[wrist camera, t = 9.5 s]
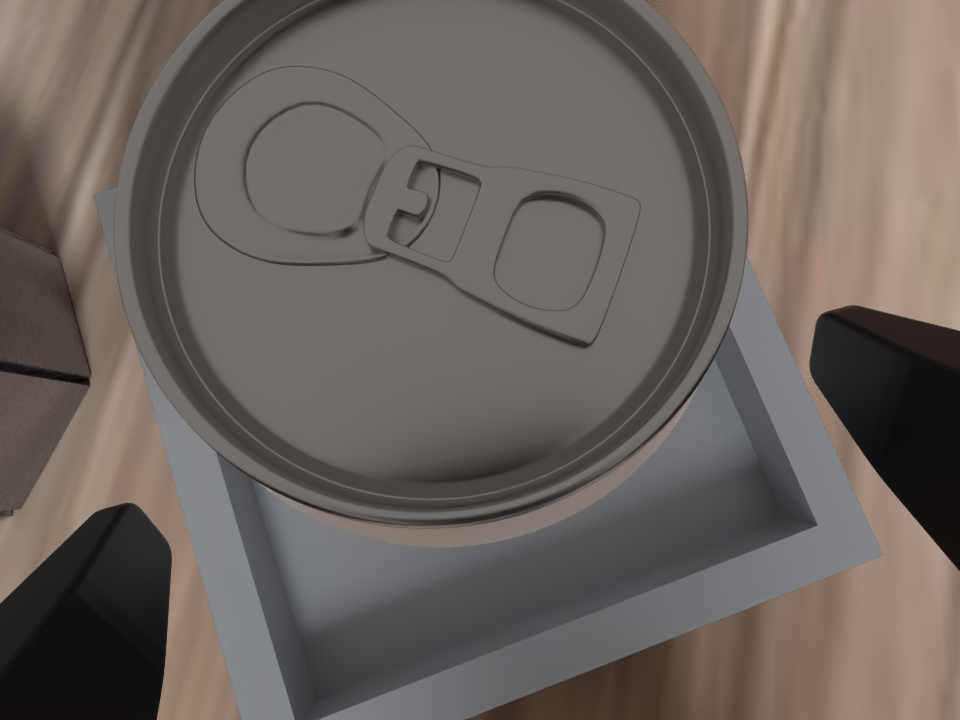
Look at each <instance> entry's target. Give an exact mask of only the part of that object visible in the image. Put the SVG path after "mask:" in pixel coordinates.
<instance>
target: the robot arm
mask: <svg viewBox="0 0 960 720" xmlns="http://www.w3.org/2000/svg"><path fill="white" fill-rule="evenodd" d="M810 372H811V375H812V378H813V380H814V382H815V383H816V385H817V386H818V388H819V389H820V391H821V392H822V394H823V395H824V396H825V398H826V399H827V401H828V402H829V404H830V405H831V407H832V408H833V410H834V411H835V413H836V414H837V416H838V417H839V419H840V420H841V421H842V423H843V424H844V426H845V427H846V429H847V430H848V432H849V433H850V435H851V436H852V438H853V439H854V441H855V442H856V444H857V445H858V446H859V448H860V449H861V451H862V452H863V454H864V455H865V457H866V458H867V460H868V461H869V462H870V464H871V465H872V466H873V468H874V469H875V471H876V472H877V473H878V475H879V476H880V477H881V478H882V480H883V481H884V482H885V483H886V485H887V486H888V487H889V488H890V490H891V491H892V492H893V493H894V494H895V495H896V497H897V498H898V499H899V500H900V501H901V503H902V504H903V505H904V506H905V507H906V508H907V510H908V511H909V512H910V513H911V514H912V515H913V517H914V518H915V519H916V520H917V521H918V523H919V524H920V525H921V526H922V527H923V528H924V530H925V531H926V532H927V533H928V534H929V536H930V537H931V538H932V539H933V540H934V541H935V543H936V544H937V545H938V546H939V547H940V549H941V550H942V551H943V552H944V553H945V554H946V556H947V557H948V558H949V559H950V560H951V562H952V563H953V564H954V565H955V566H956V567H957V569H958V570H959V571H960V331H958V330H954V329H950V328H946V327H942V326H938V325H934V324H930V323H926V322H922V321H917V320H913V319H909V318H905V317H901V316H897V315H893V314H889V313H885V312H881V311H877V310H873V309H869V308H865V307H861V306H856V305H851V306H846V307H842V308H838V309H835V310H831V311H827V312H825V313H823V314H821V315H820V317H819V318H818V320H817V322H816V326H815V332H814V338H813V344H812V350H811V356H810ZM171 564H172V556H171V550H170V546H169V544H168V542H167V540H166V539H165V538H164V536H163V535H162V534H161V533H160V531H159V530H158V529H157V528H156V527H155V525H154V524H153V523H152V522H151V521H150V519H149V518H148V517H147V516H146V514H145V513H144V512H143V511H142V510H141V509H140V508H139V507H138V506H137V505H135V504H133V503H124V504H120V505H116V506H113V507H109V508H105V509H102V510H99V511H97V512H95V513H94V514H93V515H92V516H91V517H89V518H88V519H87V520H86V521H85V522H84V523H83V524H82V525H81V526H80V527H79V528H78V529H77V530H76V531H75V532H74V533H73V534H72V535H71V536H70V537H69V538H68V539H67V540H66V541H65V542H64V543H63V544H62V545H61V546H60V547H58V548H57V549H56V550H55V551H54V552H53V553H52V554H51V555H50V556H49V557H48V558H47V559H46V560H45V561H44V562H43V563H42V564H41V565H40V566H39V567H38V568H37V569H36V570H35V571H34V572H33V573H32V574H31V575H30V576H28V577H27V578H26V579H25V580H24V581H23V582H22V583H21V584H20V585H19V586H18V587H17V588H16V589H15V590H14V591H13V592H12V593H11V594H10V595H9V596H8V597H7V598H6V599H5V600H4V601H3V602H2V603H1V604H0V720H157V714H158V709H159V703H160V697H161V690H162V684H163V677H164V668H165V657H166V643H167V627H168V611H169V596H170V580H171Z"/></svg>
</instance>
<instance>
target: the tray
mask: <svg viewBox="0 0 960 720" xmlns="http://www.w3.org/2000/svg"><path fill="white" fill-rule="evenodd" d="M116 189H117V186H116V187H113V188H110V189H108V190H105V191H102V192H99V193H96V194H93V195H94V198H95V202H96V205H97V209H98V212H99V216H100V219H101V223H102V227H103V230H104V234H105V237H106V241H107V244H108V248H109V251H110V255H111V258H112V262H113V266H114V269H115V273H116V265H115V256H114V237H113V224H114V206H115V196H116ZM116 276H117V273H116ZM117 280H118V279H117ZM134 340H135V339H134ZM135 344H136V341H135ZM136 347H137V351H138V354H139V358H140V361H141V365H142V368H143V372H144V376H145V379H146V383H147V386H148V390H149V393H150V397H151V400H152V404H153V407H154V411H155V415H156V418H157V422H158V425H159V429H160V432H161V436H162V439H163V443H164V446H165V450H166V454H167V457H168V461H169V464H170V468H171V471H172V475H173V478H174V482H175V485H176V489H177V493H178V496H179V500H180V503H181V507H182V510H183V514H184V517H185V521H186V524H187V528H188V532H189V535H190V539H191V542H192V546H193V549H194V553H195V556H196V560H197V563H198V567H199V571H200V574H201V578H202V581H203V585H204V588H205V592H206V595H207V599H208V602H209V606H210V610H211V613H212V617H213V620H214V624H215V627H216V631H217V634H218V638H219V641H220V645H221V649H222V652H223V656H224V659H225V663H226V666H227V670H228V673H229V677H230V680H231V684H232V688H233V691H234V695H235V698H236V702H237V705H238V709H239V712H240V716H241V720H466V719H468V718H471V717H473V716H476V715H478V714H481V713H483V712H486V711H488V710H491V709H494V708H496V707H499V706H501V705H504V704H506V703H509V702H511V701H514V700H516V699H519V698H522V697H524V696H527V695H529V694H532V693H534V692H537V691H539V690H542V689H544V688H547V687H550V686H552V685H555V684H557V683H560V682H562V681H565V680H567V679H570V678H572V677H575V676H577V675H580V674H583V673H585V672H588V671H590V670H593V669H595V668H598V667H600V666H603V665H605V664H608V663H611V662H613V661H616V660H618V659H621V658H623V657H626V656H628V655H631V654H633V653H636V652H639V651H641V650H644V649H646V648H649V647H651V646H654V645H656V644H659V643H661V642H664V641H667V640H669V639H672V638H674V637H677V636H679V635H682V634H684V633H687V632H689V631H692V630H695V629H697V628H700V627H702V626H705V625H707V624H710V623H712V622H715V621H717V620H720V619H722V618H725V617H728V616H730V615H733V614H735V613H738V612H740V611H743V610H745V609H748V608H750V607H753V606H756V605H758V604H761V603H763V602H766V601H768V600H771V599H773V598H776V597H778V596H781V595H784V594H786V593H789V592H791V591H794V590H796V589H799V588H801V587H804V586H806V585H809V584H812V583H814V582H817V581H819V580H822V579H824V578H827V577H829V576H832V575H834V574H837V573H840V572H842V571H845V570H847V569H850V568H852V567H855V566H857V565H860V564H862V563H865V562H867V561H870V560H873V559H875V558H878V557H880V556H883V554H882V552H881V550H880V547H879V545H878V543H877V541H876V539H875V536H874V534H873V532H872V530H871V528H870V525H869V523H868V521H867V519H866V517H865V514H864V512H863V510H862V508H861V506H860V503H859V501H858V499H857V497H856V495H855V492H854V490H853V488H852V486H851V484H850V481H849V479H848V477H847V475H846V473H845V470H844V468H843V466H842V464H841V462H840V460H839V457H838V455H837V453H836V451H835V449H834V446H833V444H832V442H831V440H830V438H829V435H828V433H827V431H826V429H825V427H824V424H823V422H822V420H821V418H820V416H819V413H818V411H817V409H816V407H815V405H814V402H813V400H812V398H811V396H810V394H809V391H808V389H807V387H806V385H805V383H804V380H803V378H802V376H801V374H800V372H799V370H798V367H797V365H796V363H795V361H794V359H793V356H792V354H791V352H790V350H789V348H788V345H787V343H786V341H785V339H784V337H783V334H782V332H781V330H780V328H779V326H778V323H777V321H776V319H775V317H774V315H773V312H772V310H771V308H770V306H769V304H768V301H767V299H766V297H765V295H764V293H763V290H762V288H761V286H760V284H759V282H758V280H757V277H756V275H755V273H754V271H753V269H752V266H751V264H750V262H749V260H748V258H747V255H746V263H745V269H744V275H743V280H742V284H741V289H740V293H739V297H738V300H737V304H736V307H735V310H734V313H733V316H732V319H731V322H730V325H729V327H728V330H727V332H726V335H725V337H724V339H723V342H722V344H721V346H720V348H719V350H718V352H717V354H716V356H715V358H714V360H713V362H712V364H711V366H710V367H709V369H708V371H707V372H706V374H705V376H704V377H703V379H702V381H701V382H700V384H699V385H698V387H697V390H696V392H695V393H694V395H693V397H692V399H691V401H690V403H689V405H688V406H687V408H686V410H685V411H684V413H683V415H682V416H681V418H680V419H679V421H678V422H677V424H676V425H675V427H674V428H673V430H672V431H671V432H670V434H669V435H668V436H667V438H666V439H665V440H664V441H663V443H662V444H661V445H660V446H659V447H658V449H657V450H656V451H655V452H654V453H653V454H652V455H651V456H650V457H649V458H648V460H647V461H646V462H645V463H644V464H643V465H641V466H640V467H639V468H638V469H637V470H636V471H635V472H634V473H633V474H632V475H631V476H630V477H628V478H627V479H626V480H625V481H624V482H622V483H621V484H620V485H619V486H617V487H616V488H615V489H614V490H612V491H611V492H609V493H608V494H607V495H605V496H604V497H602V498H601V499H599V500H598V501H596V502H595V503H593V504H592V505H590V506H588V507H586V508H585V509H583V510H581V511H580V512H578V513H576V514H574V515H572V516H570V517H568V518H566V519H564V520H562V521H559V522H557V523H555V524H553V525H550V526H548V527H545V528H543V529H540V530H537V531H534V532H531V533H528V534H525V535H522V536H518V537H515V538H511V539H507V540H502V541H498V542H492V543H486V544H481V545H472V546H461V547H417V546H406V545H399V544H392V543H387V542H382V541H377V540H373V539H369V538H364V537H361V536H358V535H354V534H351V533H348V532H345V531H342V530H340V529H337V528H334V527H332V526H329V525H327V524H325V523H322V522H320V521H318V520H316V519H314V518H312V517H310V516H308V515H306V514H304V513H302V512H300V511H299V510H297V509H295V508H293V507H292V506H290V505H289V504H287V503H285V502H284V501H282V500H281V499H279V498H278V497H276V496H275V495H274V494H272V493H271V492H270V491H268V490H267V489H266V488H264V487H263V486H262V485H260V484H259V483H258V482H257V481H255V480H253V479H252V478H250V477H249V476H247V475H246V474H244V473H243V472H241V471H240V470H238V469H237V468H236V467H234V466H233V465H232V464H230V463H229V462H228V461H226V460H225V459H224V458H223V457H221V456H220V455H219V454H218V453H217V452H216V451H214V450H213V449H212V448H211V447H210V446H209V445H208V444H207V443H206V442H205V441H204V440H202V439H201V438H200V437H199V436H198V435H197V434H196V433H195V431H194V430H193V429H192V428H191V427H190V426H189V425H188V424H187V423H186V422H185V420H184V419H183V418H182V417H181V416H180V415H179V413H178V412H177V411H176V410H175V408H174V407H173V406H172V404H171V403H170V402H169V400H168V399H167V397H166V396H165V395H164V393H163V392H162V390H161V389H160V387H159V386H158V384H157V382H156V381H155V379H154V377H153V376H152V374H151V372H150V370H149V368H148V367H147V365H146V363H145V361H144V359H143V357H142V355H141V353H140V350H139V348H138V346H137V344H136Z"/></svg>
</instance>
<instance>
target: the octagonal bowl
mask: <svg viewBox="0 0 960 720" xmlns="http://www.w3.org/2000/svg"><path fill="white" fill-rule="evenodd" d="M53 252H54V251H52V250H50V249H47V248H45V247H43V246H41V245H39V244H37V243H35V242H32V241H30V240H28V239H26V238H24V237H22V236H20V235H18V234H15V233H13V232H11V231H9V230H7V229H5V228H3V227H0V520H2V519H5V518H8V517H10V516H13V514H12V510H16V509H21V508H22V506H23V504H24V502H25V500H26V499H27V497H28V495H29V493H30V492H31V490H32V488H33V486H34V484H35V483H36V481H37V479H38V477H39V475H40V474H41V472H42V470H43V468H44V467H45V465H46V463H47V461H48V459H49V458H50V456H51V454H52V452H53V451H54V449H55V447H56V445H57V443H58V442H59V440H60V438H61V436H62V435H63V433H64V431H65V429H66V427H67V426H68V424H69V422H70V420H71V419H72V417H73V415H74V413H75V411H76V410H77V408H78V406H79V404H80V403H81V401H82V399H83V397H84V395H85V394H86V392H87V390H88V388H89V387H90V386H89V385H87V384H85V383H83V382H81V381H80V380H83V379H86V378H89V377H91V374H90V371H89V367H88V363H87V359H86V356H85V352H84V348H83V344H82V341H81V337H80V333H79V329H78V326H77V322H76V318H75V314H74V311H73V307H72V303H71V300H70V296H69V292H68V288H67V285H66V281H65V277H64V273H63V270H62V266H61V262H60V258H58V257H56V256H54V255H52V254H53Z"/></svg>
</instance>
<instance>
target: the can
mask: <svg viewBox="0 0 960 720" xmlns="http://www.w3.org/2000/svg"><path fill="white" fill-rule="evenodd" d="M113 237H114V256H115V265H116V273H117V279H118V285H119V290H120V294H121V298H122V303H123V306H124V310H125V313H126V317H127V320H128V323H129V325H130V328H131V331H132V334H133V336H134V339H135V341H136V344H137V346H138V348H139V350H140V353H141V355H142V357H143V359H144V361H145V363H146V365H147V367H148V368H149V370H150V372H151V374H152V376H153V377H154V379H155V381H156V382H157V384H158V386H159V387H160V389H161V390H162V392H163V393H164V395H165V396H166V397H167V399H168V400H169V402H170V403H171V404H172V406H173V407H174V408H175V410H176V411H177V412H178V413H179V415H180V416H181V417H182V418H183V419H184V420H185V422H186V423H187V424H188V425H189V426H190V427H191V428H192V429H193V430H194V431H195V433H196V434H197V435H198V436H199V437H200V438H201V439H202V440H204V441H205V442H206V443H207V444H208V445H209V446H210V447H211V448H212V449H213V450H214V451H216V452H217V453H218V454H219V455H220V456H221V457H223V458H224V459H225V460H226V461H228V462H229V463H230V464H232V465H233V466H234V467H236V468H237V469H238V470H240V471H241V472H243V473H244V474H246V475H247V476H249V477H250V478H252V479H253V480H255V481H257V482H258V483H259V484H260V485H262V486H263V487H264V488H266V489H267V490H268V491H270V492H271V493H272V494H274V495H275V496H276V497H278V498H279V499H281V500H282V501H284V502H285V503H287V504H289V505H290V506H292V507H293V508H295V509H297V510H299V511H300V512H302V513H304V514H306V515H308V516H310V517H312V518H314V519H316V520H318V521H320V522H322V523H325V524H327V525H329V526H332V527H334V528H337V529H340V530H342V531H345V532H348V533H351V534H354V535H358V536H361V537H364V538H369V539H373V540H377V541H382V542H387V543H392V544H399V545H406V546H417V547H461V546H472V545H481V544H486V543H492V542H498V541H502V540H507V539H511V538H515V537H518V536H522V535H525V534H528V533H531V532H534V531H537V530H540V529H543V528H545V527H548V526H550V525H553V524H555V523H557V522H559V521H562V520H564V519H566V518H568V517H570V516H572V515H574V514H576V513H578V512H580V511H581V510H583V509H585V508H586V507H588V506H590V505H592V504H593V503H595V502H596V501H598V500H599V499H601V498H602V497H604V496H605V495H607V494H608V493H609V492H611V491H612V490H614V489H615V488H616V487H617V486H619V485H620V484H621V483H622V482H624V481H625V480H626V479H627V478H628V477H630V476H631V475H632V474H633V473H634V472H635V471H636V470H637V469H638V468H639V467H640V466H641V465H643V464H644V463H645V462H646V461H647V460H648V458H649V457H650V456H651V455H652V454H653V453H654V452H655V451H656V450H657V449H658V447H659V446H660V445H661V444H662V443H663V441H664V440H665V439H666V438H667V436H668V435H669V434H670V432H671V431H672V430H673V428H674V427H675V425H676V424H677V422H678V421H679V419H680V418H681V416H682V415H683V413H684V411H685V410H686V408H687V406H688V405H689V403H690V401H691V399H692V397H693V395H694V393H695V392H696V390H697V387H698V385H699V384H700V382H701V381H702V379H703V377H704V376H705V374H706V372H707V371H708V369H709V367H710V366H711V364H712V362H713V360H714V358H715V356H716V354H717V352H718V350H719V348H720V346H721V344H722V342H723V339H724V337H725V335H726V332H727V330H728V327H729V325H730V322H731V319H732V316H733V313H734V310H735V307H736V304H737V300H738V297H739V293H740V289H741V284H742V280H743V275H744V269H745V263H746V255H747V244H748V199H747V189H746V181H745V174H744V169H743V164H742V159H741V155H740V151H739V147H738V143H737V140H736V137H735V133H734V130H733V127H732V125H731V122H730V119H729V116H728V114H727V112H726V109H725V107H724V104H723V102H722V100H721V98H720V96H719V94H718V92H717V90H716V88H715V86H714V84H713V83H712V81H711V79H710V77H709V75H708V74H707V72H706V71H705V69H704V67H703V66H702V64H701V63H700V61H699V60H698V58H697V57H696V55H695V54H694V52H693V51H692V50H691V48H690V47H689V46H688V44H687V43H686V42H685V41H684V39H683V38H682V37H681V36H680V35H679V33H678V32H677V31H676V30H675V29H674V28H673V27H672V26H671V24H670V23H669V22H668V21H667V20H666V19H665V18H664V17H663V16H662V15H661V14H660V13H659V12H658V11H657V10H656V9H655V8H653V7H652V6H651V5H650V4H649V3H648V2H647V1H646V0H223V1H222V2H221V3H220V4H219V5H218V6H216V7H215V8H214V9H213V10H212V11H211V12H210V13H209V14H208V15H207V16H206V17H205V18H204V19H203V20H202V21H201V22H200V23H199V24H198V25H197V26H196V27H195V28H194V29H193V30H192V31H191V32H190V34H189V35H188V36H187V37H186V38H185V39H184V40H183V42H182V43H181V44H180V45H179V47H178V48H177V49H176V50H175V52H174V53H173V54H172V56H171V57H170V59H169V60H168V61H167V63H166V64H165V66H164V67H163V69H162V70H161V72H160V73H159V75H158V77H157V78H156V80H155V82H154V83H153V85H152V87H151V88H150V90H149V92H148V94H147V96H146V98H145V100H144V102H143V104H142V106H141V108H140V111H139V113H138V115H137V117H136V120H135V122H134V125H133V127H132V130H131V133H130V136H129V139H128V141H127V145H126V148H125V152H124V155H123V159H122V163H121V167H120V172H119V177H118V182H117V189H116V196H115V206H114V224H113Z"/></svg>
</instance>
